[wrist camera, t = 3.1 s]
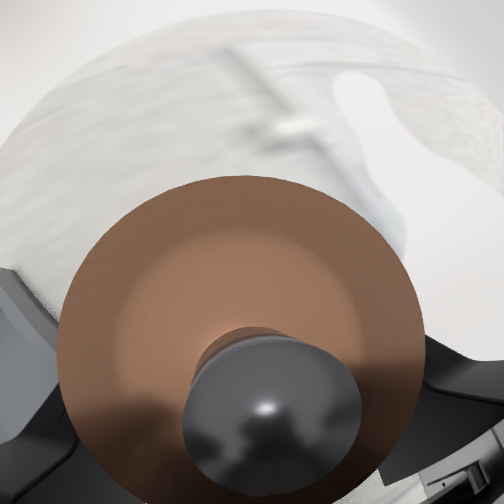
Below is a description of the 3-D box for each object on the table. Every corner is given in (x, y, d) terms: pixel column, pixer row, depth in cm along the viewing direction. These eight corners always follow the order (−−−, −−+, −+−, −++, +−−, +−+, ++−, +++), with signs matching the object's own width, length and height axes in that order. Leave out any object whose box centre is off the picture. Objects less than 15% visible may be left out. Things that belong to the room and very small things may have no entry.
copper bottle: (297, 310, 16) (527, 313, 3) (237, 393, 15) (306, 602, 1) (213, 249, 16) (215, 42, 3) (151, 332, 15) (-46, 412, 1)
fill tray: (173, 420, 14) (166, 442, 11) (87, 520, 11) (76, 540, 8) (14, 270, 14) (-14, 264, 11) (-37, 399, 11) (-58, 406, 8)
